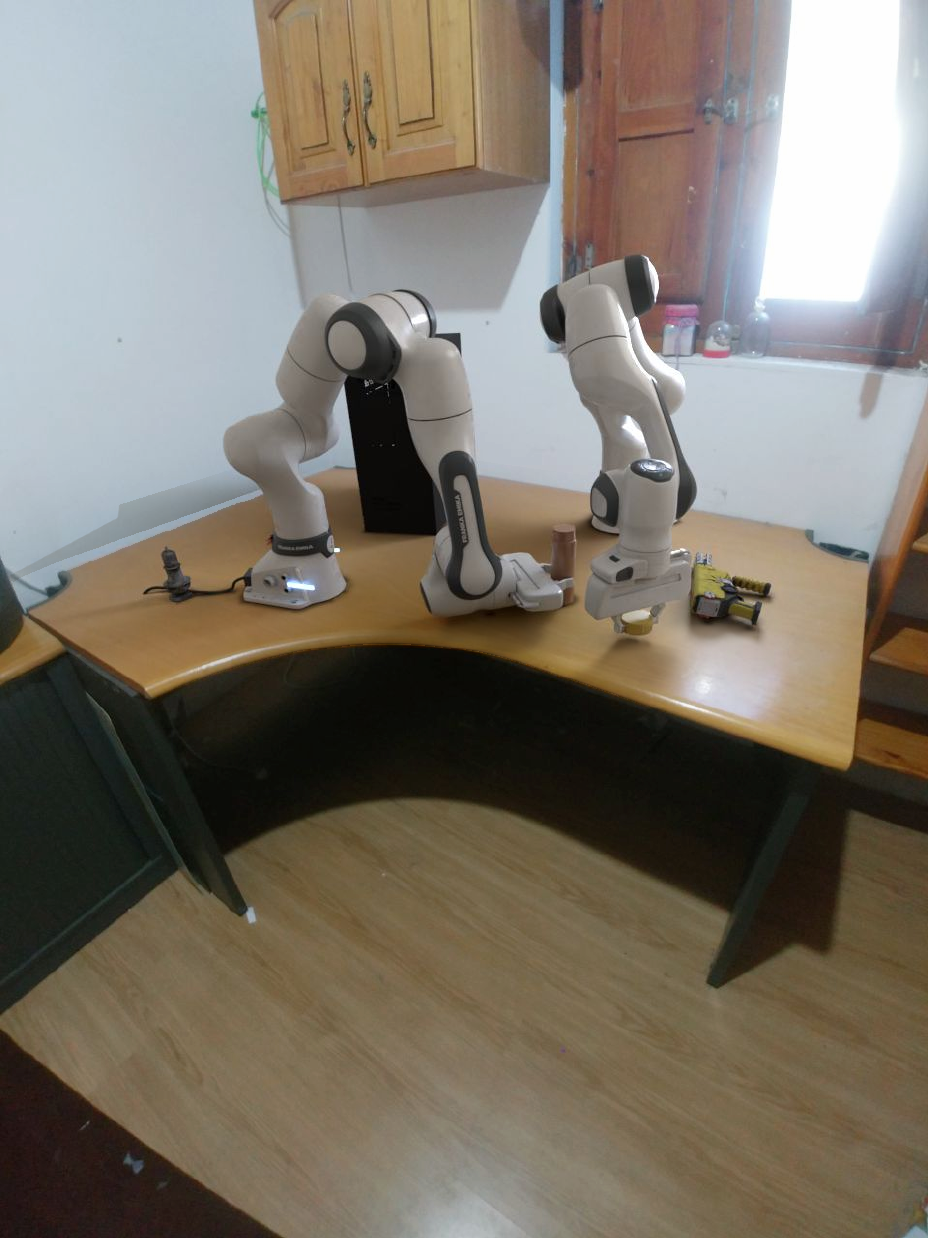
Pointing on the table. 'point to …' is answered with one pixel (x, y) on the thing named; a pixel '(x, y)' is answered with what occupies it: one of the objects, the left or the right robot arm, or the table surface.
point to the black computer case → (391, 459)
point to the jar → (563, 557)
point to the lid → (638, 622)
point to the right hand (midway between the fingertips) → (635, 627)
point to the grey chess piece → (175, 577)
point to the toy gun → (722, 592)
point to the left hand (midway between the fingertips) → (566, 574)
